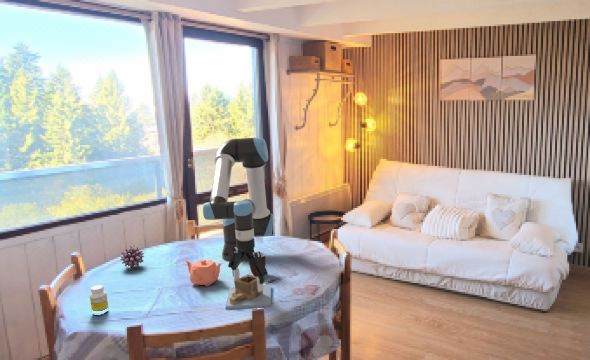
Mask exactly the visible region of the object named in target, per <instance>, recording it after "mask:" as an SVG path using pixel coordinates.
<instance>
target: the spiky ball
mask: <svg viewBox="0 0 590 360" xmlns="http://www.w3.org/2000/svg"><path fill="white" fill-rule="evenodd" d="M121 255H122V256H120V261H122V262H121V264H122V265H123V264H124V267H127V265H128V267H130V268H131V267H132V268H133V266H134V265H135V267H136V266H137V267H138V266H139V267H140V264H142V263H144V259H143V258H145V252H144V250H143V249H142V250H141V247H139V246H138V245H136V247H135V244H134V245H130V247H128V246H126V247H125V250H124V251H121Z"/></svg>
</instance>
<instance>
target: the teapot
mask: <svg viewBox="0 0 590 360" xmlns="http://www.w3.org/2000/svg"><path fill="white" fill-rule="evenodd" d="M184 262H186V265H187V269H188V273H189V281H190V282H191V283H192V284H194V286H196V287H198V286H204V287H210V285H212V284H214V283H215V282H216V281H218V279H219V277H220V272H221V265H223V264H224V263H223V262H219V263H218V264H216V262H215V261H213V260H211V259H208V260H207V259H201V260H197V261H195V262H194V263H193V264H192V263H191V262H190V260H187V259H184Z"/></svg>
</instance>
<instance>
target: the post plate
mask: <svg viewBox="0 0 590 360" xmlns="http://www.w3.org/2000/svg"><path fill="white" fill-rule="evenodd" d="M263 287H264V290H263V294H261V295H260V296H258V297H256V298H254V299H252V300H250V301H248V300H245V299H244V300H243V301H241V302H239V303H237V304H235V305H233V304H230V298H231V297H232V296H234V295H236V293H235V286H234V287H229V290H228V295H227V299H226V301H225V302H226V303H225V309H226V310H229V309H231V310H232V309H247V308H260V307H261V308H263V307H271V306H272V305H271V303H272V302H271V301H272V298H271V297H272V285H270V284H268V285H265V284H264V285H263Z"/></svg>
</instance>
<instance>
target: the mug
mask: <svg viewBox="0 0 590 360" xmlns="http://www.w3.org/2000/svg"><path fill="white" fill-rule="evenodd" d="M260 254H261V258H262V261H263V263H264V265H265V266H266V261H267V260H266V254H265V253H264V252H260ZM252 260H253V258H252ZM248 264H249V269H250V272H251V273H252V274H251V275H252V276H256V277H257V276H258V274H257V273H256V271H255V270H254V268H253V266H252V265H251V263H249V262H248Z"/></svg>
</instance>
